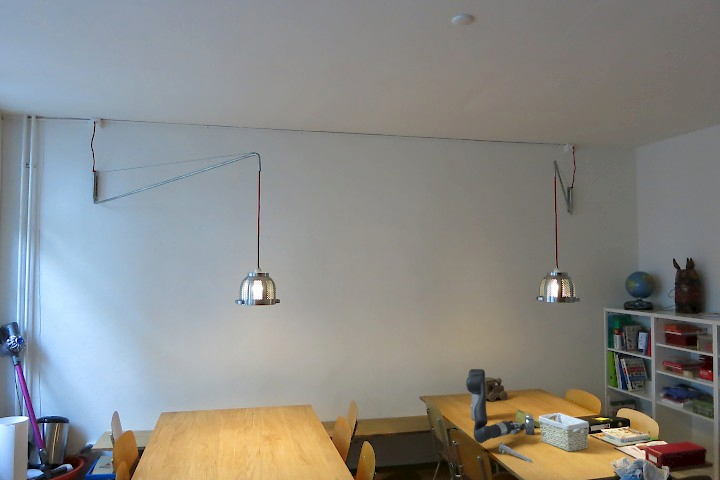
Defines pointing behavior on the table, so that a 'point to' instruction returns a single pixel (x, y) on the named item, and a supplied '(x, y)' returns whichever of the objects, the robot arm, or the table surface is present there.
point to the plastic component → (521, 418)
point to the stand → (515, 427)
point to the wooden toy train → (494, 389)
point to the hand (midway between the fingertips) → (518, 423)
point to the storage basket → (564, 431)
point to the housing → (529, 425)
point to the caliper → (512, 452)
